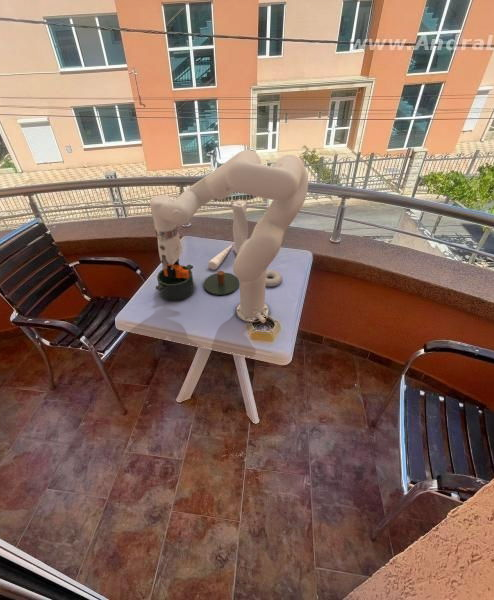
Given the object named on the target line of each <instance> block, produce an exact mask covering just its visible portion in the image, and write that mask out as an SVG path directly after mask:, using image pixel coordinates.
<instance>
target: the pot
mask: <svg viewBox="0 0 494 600" xmlns="http://www.w3.org/2000/svg"><path fill="white" fill-rule="evenodd" d="M180 265H181V266H183V269H186V270H189V277H188V278H174V277H168V276H165V274H164V271H163V269H161V270H160V271H159V272H158V273H157V276H156V281H157V284H158V285H155V290H157V291H158V292H160V295H161V297H162V298H163V299H164V300H166V301H169V302H181V301H184V300H186V299H188V298H190V297H191V296H192V295H193V294H194V292H195V283H194V277H193V271H192V269H194V266H193V265H192V264H187V265H182V264H180Z"/></svg>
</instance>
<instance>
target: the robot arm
mask: <svg viewBox="0 0 494 600" xmlns="http://www.w3.org/2000/svg"><path fill="white" fill-rule="evenodd" d="M308 191H309V176H308V172H307V169H306V166H305V165H304V163H303V161H302V160H301V159H300V158H299V157H298V156H297V155H294V154H286V155H283V156H281V157H280V158H278V159H277V160H276V162H274V165H273V166H272V165H271V166H270V165H266V164H262V160H261V158H260V156H259V154H258V153H257V152H256V151H254V150H252V149H244V150H241V151H239V152H238V153H235V155H233V156H232V157H230V158H229V159H227V160H226V161H225V162H224V163H222V164H221V165H220V166H218V167H217V168H216V169H213V170H212V171H211V172H210V173H208V174H207V175H205V176H204V177H203V178H201V179H200V180H198V181H197V182H196V183H193V185H191V186H189V187H188V188H187V189H185V190H184V191H183V192H182V193H181V194H180V195H179V196H178V197H177V198H176V199H174V200H173V199H172V197H171V196H170V195H166V194H159V195H154V196H153V197H152V198H151V199H150V200H149V207H150V211H151V217H152V220H153V221H152V222H153V225H154V231H155V235H156V238H157V248H158V255H159V260H160V263H161V264H162V265H161V266H162V270H163V269H167V273H168V277H174V278H175V277H176V273H175V268H174V267H173V264H174V265H180V257H181V256H182V254H183V246H182V241H181V238H180V234H179V232H178V227H177V225H181V226H182V225H186V224H188V223H190V221H191V220H192V218H193V217H194V215H195V214H196V213H197V211H198V210H200V208H203V206H205V205H206V204H207V203H209V202H210V201H212V200H215V199H216V200H218V201H223V200H225V199H227V198H228V197H229V196H231V195H232V194H234V193H235V192H237V193H240V194H244V195H248V196H253V197H258V198H263V199H268V200H272V201H271V203H270V204H269V206H268V208H267V209H266V210H265V212H264V214H263V215H262V216H261V218H260V219H259V220H258V221H257V223H255V226H254V228H253V230H252V232H251V235H250V237H249V238H247V240H246V241H244V243H243V244H242V245H241V247H240V249H239V251H238V254H236V257H235V259H234V262H233V265H232V270H233V275H234V276H236V277H237V278H238V280H239V303H238V305H237V306H236V315H237V317H238V318H239V319H240V320H242V321H243V322H246V323H250V322H249V320H250V319H253V318H258V319H259V320H258V321H253V322H252V323H257V322H258V323H259V322H260V323H262V324H265V323H266V322H267V319H268V318H269V317H270V315H269V311H270V310H269V306H268V305H267V303H266V286H265V285H266V271H267V268H268V267H269V266H270V265H271V264H272V263H273V261H274V260H275V258H276V257H277V255H278V254H279V252H280V249H281V247H282V243H283V239H284V236H285V234H286V231H287V230H288V229H289V227H290V225H291V224H292V223H293V222H294V220H295V218H296V217H297V216H298V214H299V212H300V211H301V209H302V207H303V206H304V204H305V201H306V198H307V194H308ZM168 264H170V265H171V266H169V265H168ZM262 315H264V316H265V317H266V318H264V317H263V316H262Z"/></svg>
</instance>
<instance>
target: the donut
mask: <svg viewBox="0 0 494 600" xmlns="http://www.w3.org/2000/svg"><path fill="white" fill-rule="evenodd" d="M282 279H283V278H282V275H281V273H279V271H277V270H273V269H266V285H265V287H270V288H271V287H276V286H279V285H280V284H281V283H282Z"/></svg>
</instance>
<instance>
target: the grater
mask: <svg viewBox="0 0 494 600" xmlns="http://www.w3.org/2000/svg"><path fill="white" fill-rule="evenodd" d="M229 201H230V204H231V208H232V213H233V218H232V237H233V243H234V252H235V254H236V255H237V254H238V251H239V249H240V247H241V245H242V244H243V243H244V241H246V240H247V239H248V237H249V236H248V235H249V223H248V219H247V216H246V214H247V208H248V201H247V200H244V199H237V200H235V199H230V200H229ZM233 202H234V203H233Z"/></svg>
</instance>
